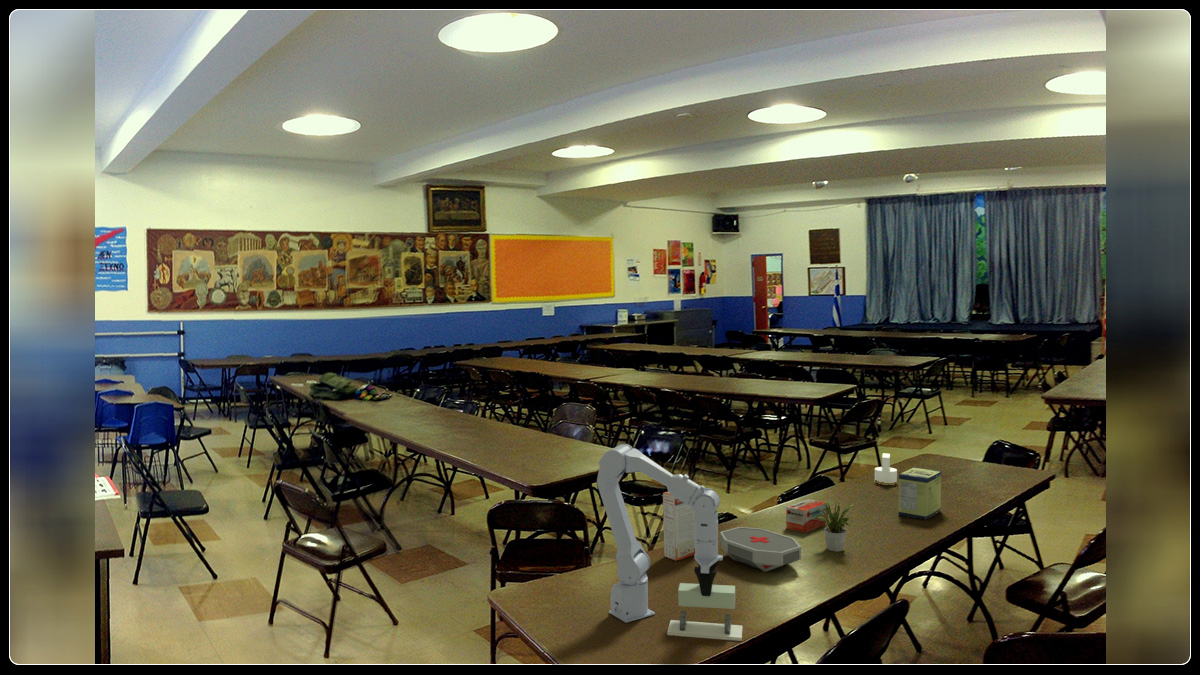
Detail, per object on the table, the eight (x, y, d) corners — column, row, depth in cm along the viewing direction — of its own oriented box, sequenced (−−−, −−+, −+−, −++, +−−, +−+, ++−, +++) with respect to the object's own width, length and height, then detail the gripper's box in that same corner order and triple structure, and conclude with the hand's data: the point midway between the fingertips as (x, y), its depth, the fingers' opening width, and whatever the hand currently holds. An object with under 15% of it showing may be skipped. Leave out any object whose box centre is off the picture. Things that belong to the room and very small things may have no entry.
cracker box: (693, 547, 260) (693, 484, 259) (706, 551, 256) (706, 487, 254) (662, 556, 251) (662, 491, 250) (676, 561, 247) (675, 495, 245)
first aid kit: (710, 558, 250) (771, 581, 230) (710, 534, 250) (771, 555, 230) (748, 546, 261) (810, 568, 241) (748, 524, 260) (810, 543, 240)
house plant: (804, 552, 254) (804, 502, 253) (812, 539, 267) (812, 491, 266) (850, 558, 248) (851, 507, 247) (856, 545, 261) (857, 496, 259)
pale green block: (678, 605, 200) (678, 590, 200) (680, 598, 205) (680, 583, 205) (734, 609, 197) (734, 593, 197) (735, 601, 202) (735, 585, 202)
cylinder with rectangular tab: (896, 486, 335) (897, 458, 335) (874, 484, 339) (874, 456, 338) (896, 481, 344) (897, 454, 343) (874, 479, 347) (875, 452, 346)
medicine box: (808, 519, 290) (808, 498, 289) (828, 524, 284) (828, 502, 284) (785, 528, 279) (785, 506, 279) (805, 533, 274) (805, 511, 273)
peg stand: (667, 634, 195) (667, 619, 195) (670, 623, 202) (670, 607, 202) (741, 640, 192) (741, 624, 191) (742, 628, 198) (742, 613, 198)
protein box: (941, 511, 298) (942, 470, 297) (926, 521, 286) (927, 478, 285) (913, 506, 305) (913, 466, 304) (897, 515, 293) (898, 474, 292)
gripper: (721, 548, 192) (721, 603, 193) (723, 530, 206) (723, 581, 207) (692, 547, 194) (692, 601, 194) (696, 529, 208) (696, 580, 209)
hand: (706, 591), depth 201 cm, fingers closed on pale green block, 5 cm apart
